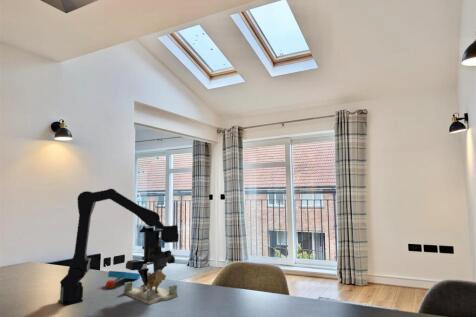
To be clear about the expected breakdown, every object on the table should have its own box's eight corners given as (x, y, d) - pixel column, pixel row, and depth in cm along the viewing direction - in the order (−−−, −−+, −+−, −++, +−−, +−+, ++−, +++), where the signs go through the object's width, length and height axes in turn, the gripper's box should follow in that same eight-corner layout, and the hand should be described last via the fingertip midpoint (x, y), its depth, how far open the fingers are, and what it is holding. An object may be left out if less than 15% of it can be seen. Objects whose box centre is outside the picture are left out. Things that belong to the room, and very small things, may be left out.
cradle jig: (149, 304, 112) (149, 292, 113) (123, 293, 125) (123, 282, 126) (177, 296, 121) (177, 285, 122) (150, 286, 134) (150, 277, 135)
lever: (124, 289, 148) (99, 288, 132) (127, 273, 151) (103, 270, 135) (137, 290, 146) (114, 289, 130) (140, 273, 149) (117, 271, 133)
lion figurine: (167, 294, 121) (168, 269, 122) (155, 297, 117) (156, 272, 118) (146, 286, 131) (147, 264, 132) (134, 289, 127) (135, 266, 128)
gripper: (140, 248, 113) (139, 294, 112) (183, 242, 127) (183, 283, 125) (125, 245, 121) (124, 288, 119) (167, 240, 134) (166, 278, 133)
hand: (150, 284), depth 124 cm, fingers open, 4 cm apart
